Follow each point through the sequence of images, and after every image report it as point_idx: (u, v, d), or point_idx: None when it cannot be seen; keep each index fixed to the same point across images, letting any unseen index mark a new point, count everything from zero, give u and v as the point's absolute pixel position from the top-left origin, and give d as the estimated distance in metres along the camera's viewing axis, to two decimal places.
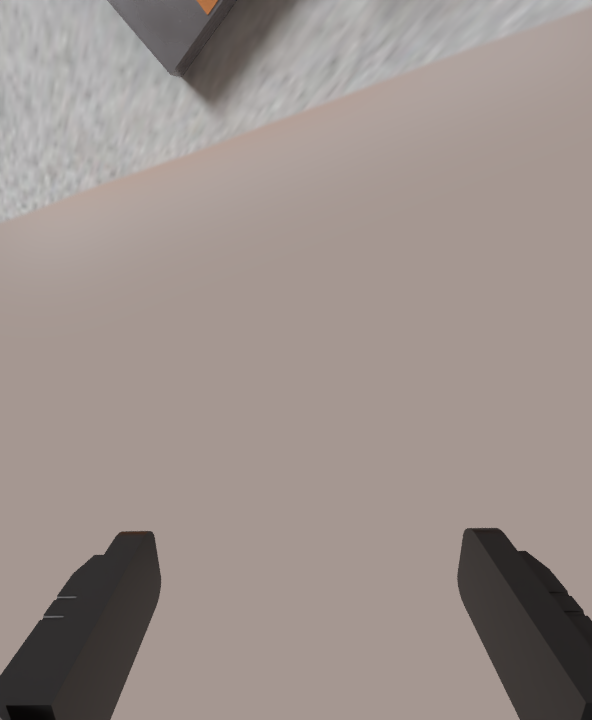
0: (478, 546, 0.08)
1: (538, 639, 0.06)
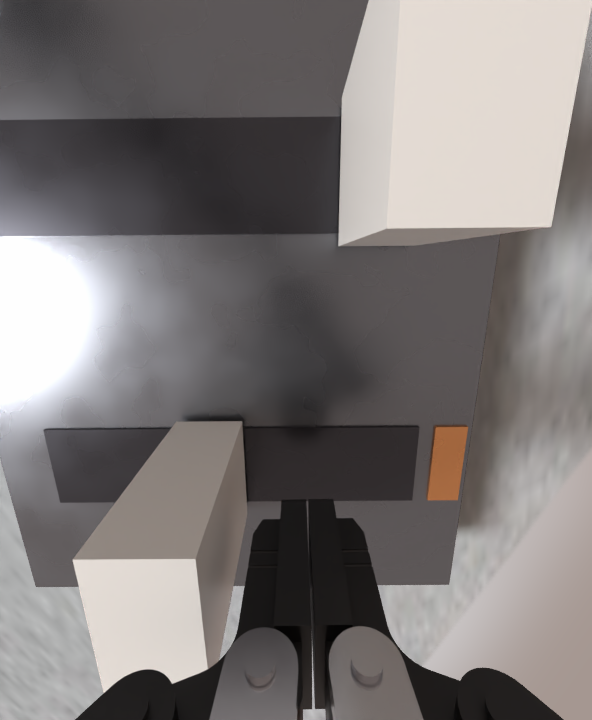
0: (308, 513, 0.09)
1: None
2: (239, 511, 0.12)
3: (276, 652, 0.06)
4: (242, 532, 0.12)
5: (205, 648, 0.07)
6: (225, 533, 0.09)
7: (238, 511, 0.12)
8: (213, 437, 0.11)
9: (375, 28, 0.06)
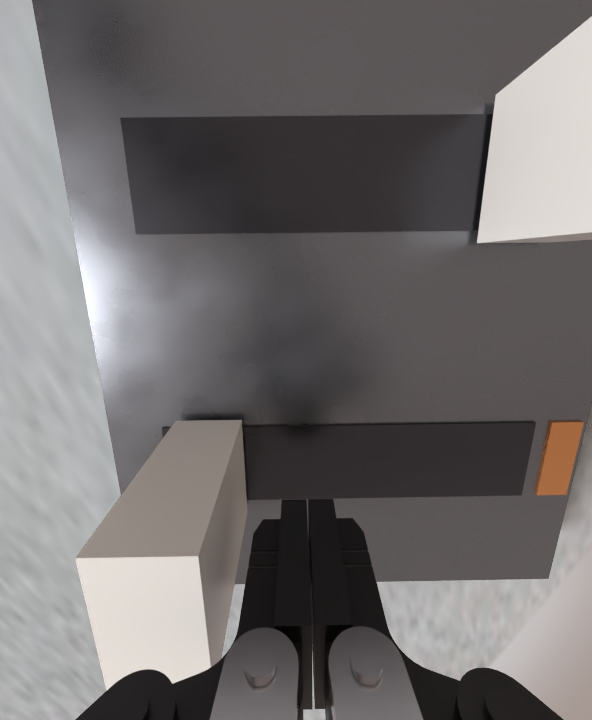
0: (308, 513, 0.09)
1: None
2: (239, 509, 0.12)
3: (276, 652, 0.06)
4: (242, 530, 0.12)
5: (208, 645, 0.07)
6: (226, 531, 0.09)
7: (238, 509, 0.12)
8: (213, 436, 0.11)
9: None
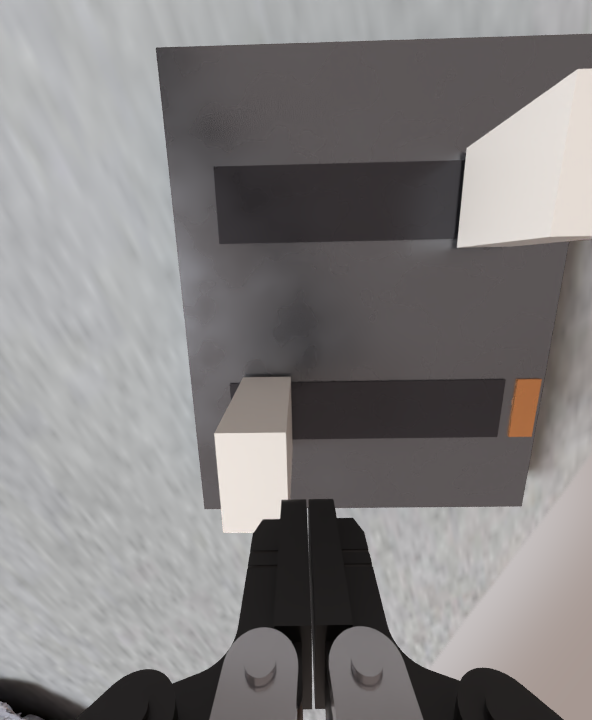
0: (308, 513, 0.09)
1: None
2: None
3: (276, 652, 0.06)
4: None
5: (287, 494, 0.12)
6: (289, 440, 0.14)
7: None
8: (273, 384, 0.16)
9: (532, 128, 0.10)
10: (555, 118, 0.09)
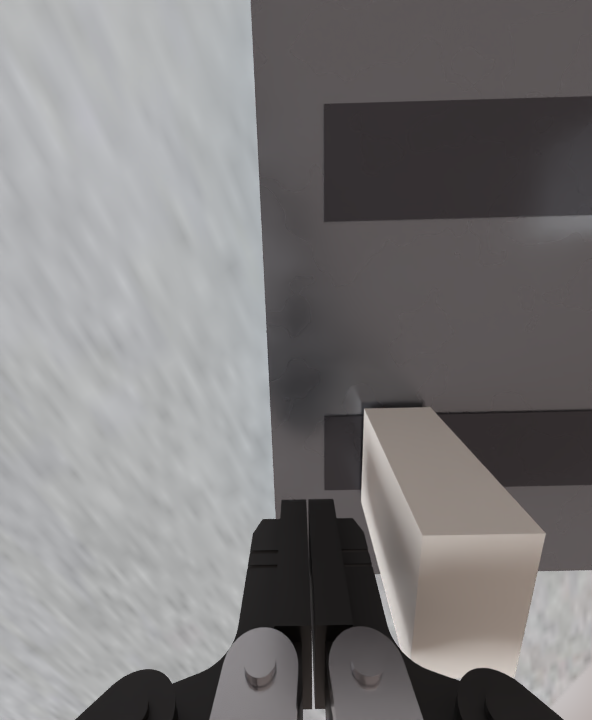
0: (308, 513, 0.09)
1: None
2: None
3: (276, 652, 0.06)
4: None
5: None
6: None
7: None
8: (420, 422, 0.11)
9: None
10: None
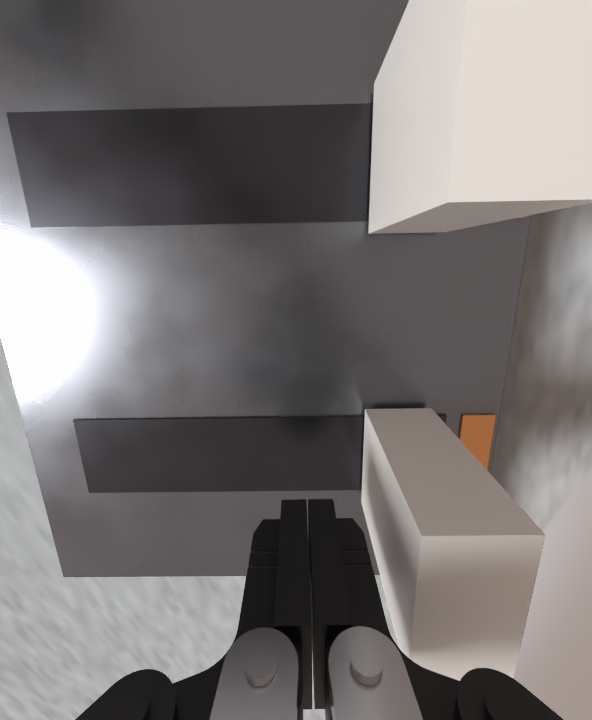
0: (308, 513, 0.09)
1: None
2: None
3: (276, 652, 0.06)
4: None
5: None
6: None
7: None
8: (421, 423, 0.11)
9: (429, 5, 0.06)
10: None
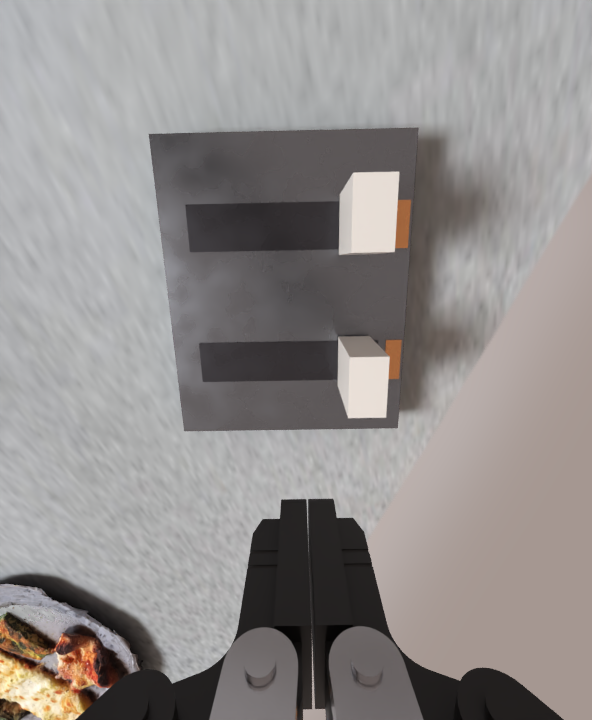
0: (308, 513, 0.09)
1: None
2: None
3: (276, 652, 0.06)
4: None
5: (387, 393, 0.21)
6: None
7: None
8: (362, 339, 0.25)
9: (348, 195, 0.20)
10: (351, 193, 0.19)
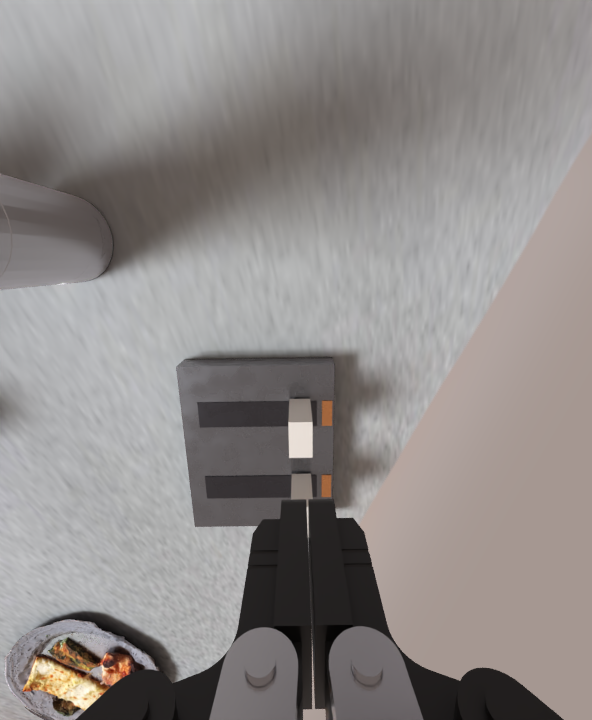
0: (308, 513, 0.09)
1: None
2: None
3: (276, 652, 0.06)
4: None
5: None
6: None
7: None
8: (305, 479, 0.41)
9: None
10: None
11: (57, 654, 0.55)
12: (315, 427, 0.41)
